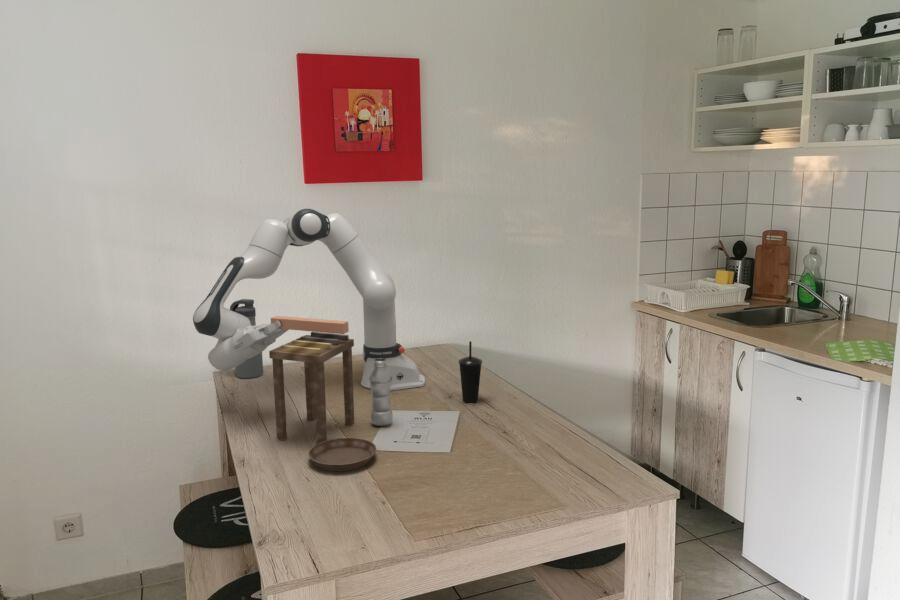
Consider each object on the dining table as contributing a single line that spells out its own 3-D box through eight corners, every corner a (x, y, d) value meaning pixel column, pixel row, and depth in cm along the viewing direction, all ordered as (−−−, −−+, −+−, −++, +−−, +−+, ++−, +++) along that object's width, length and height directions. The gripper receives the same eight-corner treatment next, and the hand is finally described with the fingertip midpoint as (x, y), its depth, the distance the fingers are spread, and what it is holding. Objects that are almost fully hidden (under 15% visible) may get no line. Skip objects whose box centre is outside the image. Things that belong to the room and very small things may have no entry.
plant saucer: (303, 452, 191) (303, 442, 190) (367, 443, 197) (367, 433, 196) (315, 480, 174) (314, 468, 174) (384, 469, 180) (384, 457, 180)
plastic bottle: (389, 429, 206) (388, 363, 202) (367, 427, 207) (365, 362, 203) (395, 421, 212) (394, 357, 208) (374, 419, 213) (372, 356, 209)
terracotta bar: (271, 327, 207) (270, 318, 207) (277, 325, 210) (276, 315, 209) (343, 334, 199) (343, 323, 199) (348, 331, 202) (348, 321, 201)
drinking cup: (482, 397, 233) (482, 338, 229) (481, 405, 225) (481, 345, 221) (459, 396, 233) (459, 338, 229) (457, 404, 226) (457, 344, 222)
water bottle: (229, 377, 255) (223, 302, 250) (244, 370, 264) (239, 296, 259) (253, 380, 252) (248, 303, 247) (268, 372, 261) (264, 298, 256)
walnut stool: (274, 440, 199) (268, 345, 193) (309, 417, 216) (305, 330, 211) (324, 447, 193) (320, 351, 188) (356, 423, 211) (353, 334, 205)
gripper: (224, 340, 203) (258, 319, 197) (266, 324, 222) (297, 304, 216) (235, 359, 203) (269, 339, 198) (275, 341, 222) (307, 322, 216)
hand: (284, 321), depth 207 cm, fingers closed on terracotta bar, 3 cm apart
